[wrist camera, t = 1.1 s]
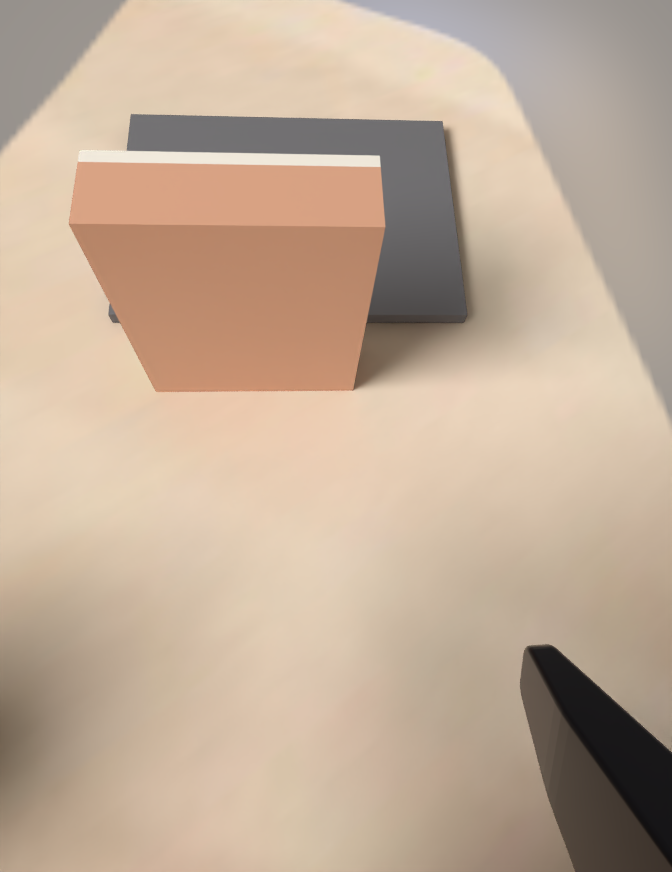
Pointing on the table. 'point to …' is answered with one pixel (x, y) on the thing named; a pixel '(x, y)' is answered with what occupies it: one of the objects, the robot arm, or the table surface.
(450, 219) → the mat
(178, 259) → the tile
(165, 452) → the table surface
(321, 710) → the table surface
